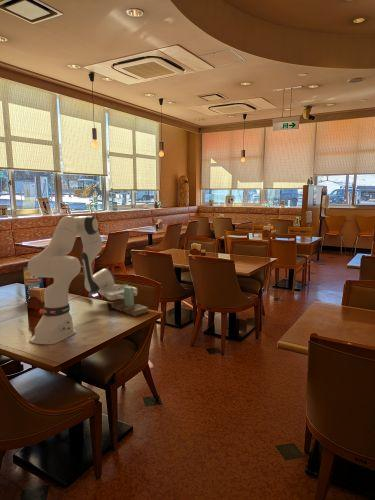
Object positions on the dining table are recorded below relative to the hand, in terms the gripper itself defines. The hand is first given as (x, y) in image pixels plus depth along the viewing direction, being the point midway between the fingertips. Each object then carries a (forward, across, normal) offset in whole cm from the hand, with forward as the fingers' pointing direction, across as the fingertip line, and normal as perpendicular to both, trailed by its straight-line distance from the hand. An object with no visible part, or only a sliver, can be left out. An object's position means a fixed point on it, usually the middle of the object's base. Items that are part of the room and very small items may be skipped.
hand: (130, 295), depth 213 cm
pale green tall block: (-1, 0, +9) cm, 9 cm away
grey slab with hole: (-1, 0, +9) cm, 9 cm away
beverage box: (-61, -29, +9) cm, 69 cm away
